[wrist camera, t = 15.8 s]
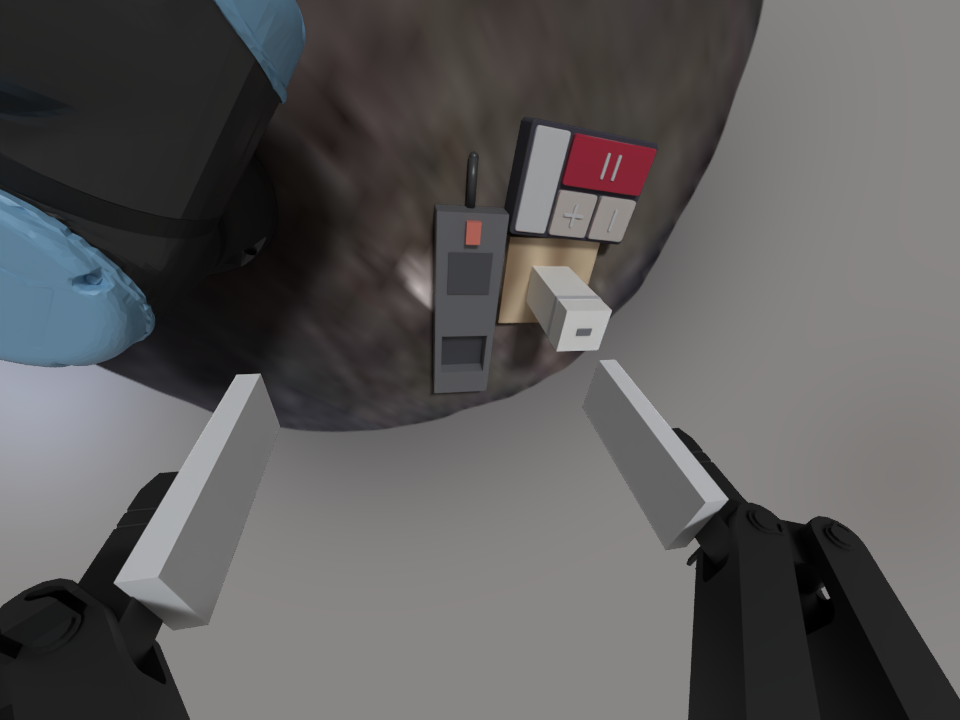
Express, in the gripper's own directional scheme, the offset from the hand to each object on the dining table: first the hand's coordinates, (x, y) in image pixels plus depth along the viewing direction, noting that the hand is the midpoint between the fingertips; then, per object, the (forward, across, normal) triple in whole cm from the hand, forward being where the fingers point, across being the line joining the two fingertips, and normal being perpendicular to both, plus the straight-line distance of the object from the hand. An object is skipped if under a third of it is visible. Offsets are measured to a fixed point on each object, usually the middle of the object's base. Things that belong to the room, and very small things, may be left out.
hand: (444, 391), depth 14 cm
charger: (+30, +17, -9) cm, 36 cm away
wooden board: (+32, +17, -9) cm, 37 cm away
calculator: (+32, +18, +3) cm, 37 cm away
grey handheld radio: (+32, +6, -10) cm, 34 cm away
